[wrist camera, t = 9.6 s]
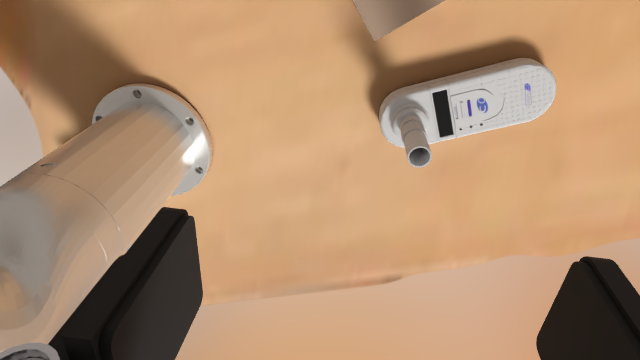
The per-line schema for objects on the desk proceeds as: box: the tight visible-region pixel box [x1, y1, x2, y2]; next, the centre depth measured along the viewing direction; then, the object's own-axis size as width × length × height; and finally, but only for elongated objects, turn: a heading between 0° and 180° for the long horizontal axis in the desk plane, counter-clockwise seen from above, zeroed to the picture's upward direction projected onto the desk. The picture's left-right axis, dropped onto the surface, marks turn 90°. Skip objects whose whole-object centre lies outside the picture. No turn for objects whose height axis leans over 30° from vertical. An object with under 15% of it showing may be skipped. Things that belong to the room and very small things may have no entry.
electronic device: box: [379, 58, 556, 168], centre depth 35 cm, size 5×10×15 cm
